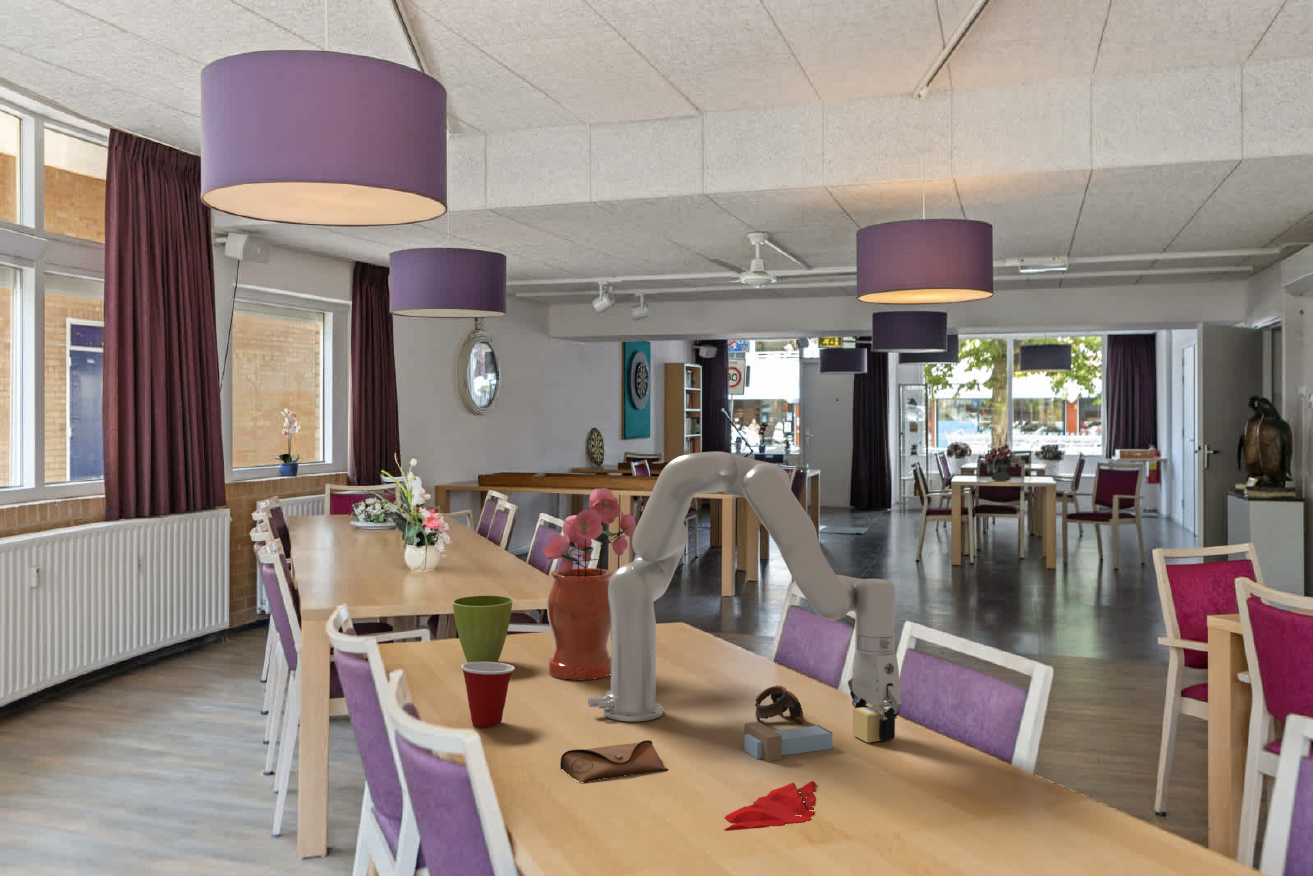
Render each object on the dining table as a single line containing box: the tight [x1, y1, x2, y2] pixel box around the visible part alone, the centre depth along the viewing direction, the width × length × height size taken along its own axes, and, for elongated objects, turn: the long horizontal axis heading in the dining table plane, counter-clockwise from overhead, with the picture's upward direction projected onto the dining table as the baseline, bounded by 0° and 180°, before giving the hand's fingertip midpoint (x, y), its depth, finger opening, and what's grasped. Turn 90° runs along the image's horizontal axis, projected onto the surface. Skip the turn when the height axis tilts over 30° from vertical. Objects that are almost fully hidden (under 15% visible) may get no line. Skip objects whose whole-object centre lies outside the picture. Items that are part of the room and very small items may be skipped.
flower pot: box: [452, 595, 513, 663], centre depth 253 cm, size 15×15×16 cm
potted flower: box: [542, 487, 637, 681], centre depth 245 cm, size 19×25×45 cm
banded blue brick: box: [743, 721, 833, 762], centre depth 189 cm, size 16×9×4 cm, turn 112°
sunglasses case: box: [560, 740, 669, 783], centre depth 178 cm, size 18×7×7 cm, turn 116°
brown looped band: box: [754, 685, 805, 725], centre depth 208 cm, size 12×10×8 cm
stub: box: [851, 705, 888, 743], centre depth 196 cm, size 6×5×5 cm
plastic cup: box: [460, 662, 516, 729], centre depth 203 cm, size 11×11×12 cm
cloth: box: [723, 780, 817, 831], centre depth 160 cm, size 26×14×2 cm, turn 128°
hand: (873, 732), depth 196 cm, fingers open, 8 cm apart
